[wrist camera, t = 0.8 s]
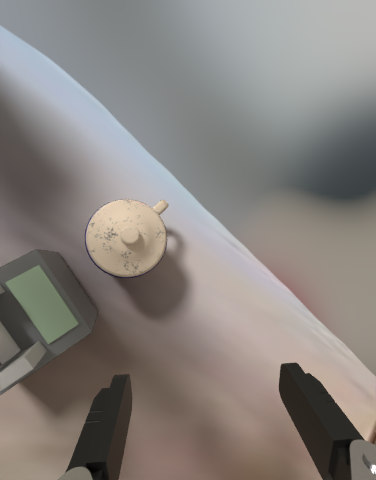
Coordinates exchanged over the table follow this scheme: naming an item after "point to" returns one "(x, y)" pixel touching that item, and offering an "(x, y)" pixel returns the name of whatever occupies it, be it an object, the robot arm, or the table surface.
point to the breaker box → (41, 312)
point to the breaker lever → (7, 346)
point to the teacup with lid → (126, 237)
